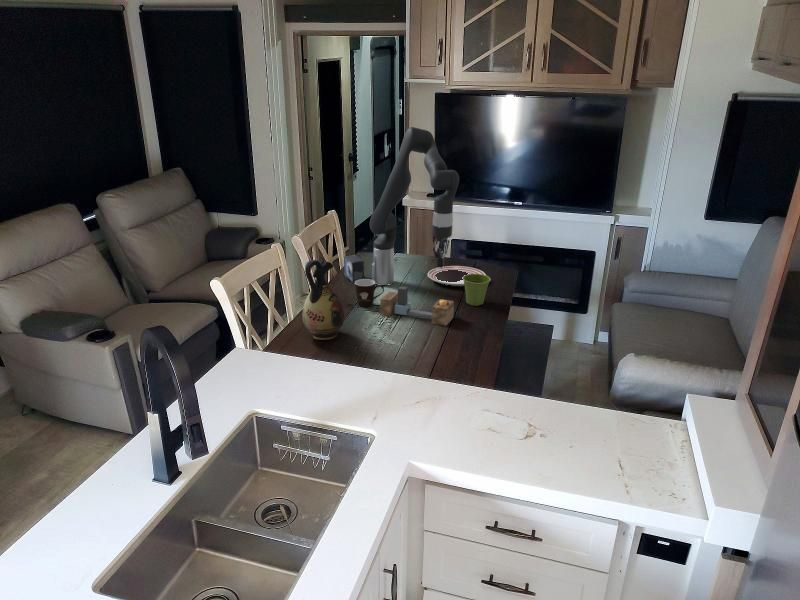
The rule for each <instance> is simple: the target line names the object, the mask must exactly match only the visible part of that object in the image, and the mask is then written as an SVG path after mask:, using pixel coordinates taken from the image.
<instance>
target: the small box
mask: <svg viewBox="0 0 800 600" xmlns="http://www.w3.org/2000/svg"><path fill="white" fill-rule="evenodd" d="M343 274H344V275H345V276H346V277H347V278H348V279H350V280H351V281H352V282H354V281H357V280H360V279H365V260H364V259H362V258H360V257H359V256H357V255H356V254H352V255H346V256H343ZM344 275H343V276H344ZM347 278H346V279H347ZM348 279H347V280H348ZM352 282H351V283H352Z"/></svg>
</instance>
